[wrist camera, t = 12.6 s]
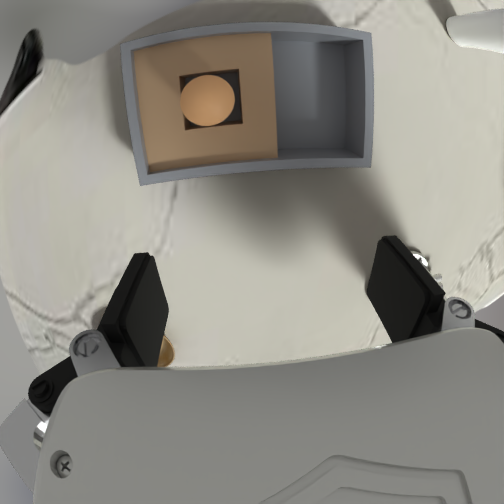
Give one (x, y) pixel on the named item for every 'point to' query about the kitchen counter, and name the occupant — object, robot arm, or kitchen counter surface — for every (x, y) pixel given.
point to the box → (251, 99)
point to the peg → (207, 100)
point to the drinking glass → (478, 30)
